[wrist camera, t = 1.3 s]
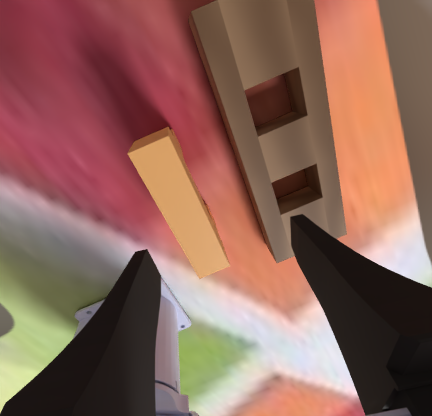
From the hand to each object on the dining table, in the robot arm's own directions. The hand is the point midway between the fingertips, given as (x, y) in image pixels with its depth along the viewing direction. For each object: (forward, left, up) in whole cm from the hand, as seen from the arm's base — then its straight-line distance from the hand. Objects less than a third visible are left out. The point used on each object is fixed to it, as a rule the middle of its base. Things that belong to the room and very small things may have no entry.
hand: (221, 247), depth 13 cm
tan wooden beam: (-2, 0, -10) cm, 10 cm away
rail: (+7, 0, -10) cm, 12 cm away
